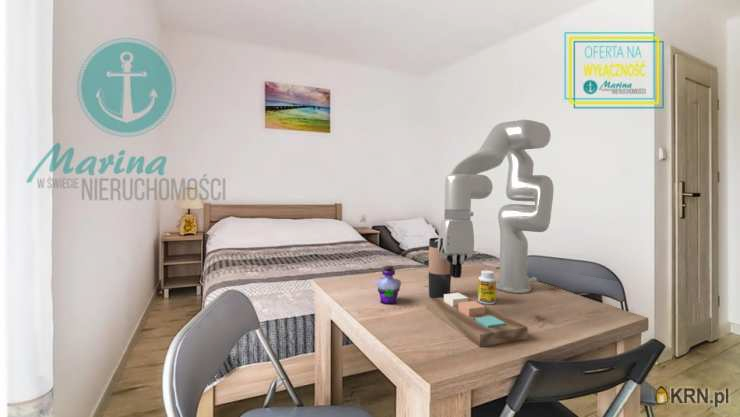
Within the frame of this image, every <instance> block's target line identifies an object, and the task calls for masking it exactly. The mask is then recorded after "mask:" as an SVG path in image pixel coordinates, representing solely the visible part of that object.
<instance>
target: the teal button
mask: <svg viewBox="0 0 740 417" xmlns="http://www.w3.org/2000/svg"><path fill="white" fill-rule="evenodd" d="M475 321H476V322H478V323H480V324H481V325H483V326H485V327H486V328H493V327H500V326H505V323H504V322H502V321H501V320H499V319H497V318H495V317H493V316H486V317H479V318H475Z"/></svg>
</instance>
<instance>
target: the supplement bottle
mask: <svg viewBox="0 0 740 417" xmlns="http://www.w3.org/2000/svg"><path fill="white" fill-rule="evenodd" d="M496 282H497V278H496V277H495V271H492V270H487V269H486V270H481V271H480V276H479V277H478V283H477V284H478V286H477V287H478V288H477V289H478V290H477V301H478V302H480V303H482V304H484V305H493V304H495V303H496V302H497V301H496V300H497V288H496Z"/></svg>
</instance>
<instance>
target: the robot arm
mask: <svg viewBox="0 0 740 417" xmlns="http://www.w3.org/2000/svg"><path fill="white" fill-rule="evenodd" d="M551 135H552V134H551V130H550V128H549V127H548V125H547V124H545V123H543V122H539V121H536V120H532V119H519V120H513V121H505V122H500V123H497V124H495V126H493V128H492V129H491V130H490V132H489V134H488V135H487V137H486V139H485V140H484V142H483V143H482V145H481V146H480V148H479V149H478V150H476V151H475V152H473V153H471V154H469V155H468V156H467V157H465V158H463V160H461V161H460V162H458V163H457V164H456V165H455V166H454V168H453V170H451V172H450V174H448V175H447V176H446V177H445V181H444V182H445V183H444V185H445V186H444V188H445V189H444V217H443V218H444V219H441V221H440V225H439V231H438V237H437V238H438V251H440V255H439V256H440V257H441V258H445V259H447V260H448V262H449V263H450V275H451V278H452V277H453V278H454V279H459V278H460V279H461V277H462V270H463V268H462V265H464V263H465V262H464V261H466V260H467V259H468V258H471V257H473V255H474V254H473V252H474V249H475V231H474V225H473V222H472V220H471V218H472V217H474V212H473V211H472V210H471V208H472V207H471V206H472V204H471V203H472V200H482V199H486V198H488V197H489V196H490V195H491V193H492V191H493V182H492V180H491V178H489V177H488V176H487V175H486V174H481V173H484V172H488V171H490V170H492V169H493V170H494V169H496V168H497V167H499V166H500V165H502V164H503V163H504V161H505V160H504V159H505V158H507V160H508V170H507V171H508V172H507V179H506V185H505V186H506V187H505V194H506V198H508V199H509V200H510V201H514V202H515V201H516V202H534V204H521V203H520V204H518V203H517V204H516V203H510V204H505V205H503V206H501V207H500V209H499V210H498V214H497V218H498V226H499V234H500V235H499V237H500V238H499V239H500V240H499V244H500V245H499V270H498V271H499V273H498V274H499V276H498V281H496V290H500V291H503V292H505V293H512V294H514V293H515V294H526V293H529V292H531V290H532V287H531V286H530V283H531V284H532V283H533V284H534V283H537V281H538V279H537V277H535V276H533V277H530V276H528V252H529V251H528V250H529V249H528V248H529V243H528V239H527V237H526V235H525V234H524V232H534V233H543V232H546V231H547V230H548V229H549V227H550V223H551V217H552V209H553V208H552V207H553V200H554V189H555V188H554V184H553V180H552V178H551V177H549V176H547V175H546V174H545V175H544V174H535V175H534V161H533V158H532V157H531V156H530V155H529V153H528V152H527V151H526V150H534V149H535V150H536V149H537V150H538V149H543V148H545V147H547V146H548V144H549V143H550V140H551ZM447 254H448V255H447Z"/></svg>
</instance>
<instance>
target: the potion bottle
mask: <svg viewBox="0 0 740 417" xmlns="http://www.w3.org/2000/svg"><path fill="white" fill-rule="evenodd" d="M381 274H382V275H383V277H382V278H379V279H375V280H376V281H375V282H376V287H377V291H378V293H379V299H380V304H383V305H388V306H389V305H391V306H393V305H395V304H397V300H398V295H399V292H400V289H401V285H402V282H401V280H400V279H397V278H394V277H393V276H394V275H396V271H395V269H394V265H384V266H383V268H382V273H381Z"/></svg>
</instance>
